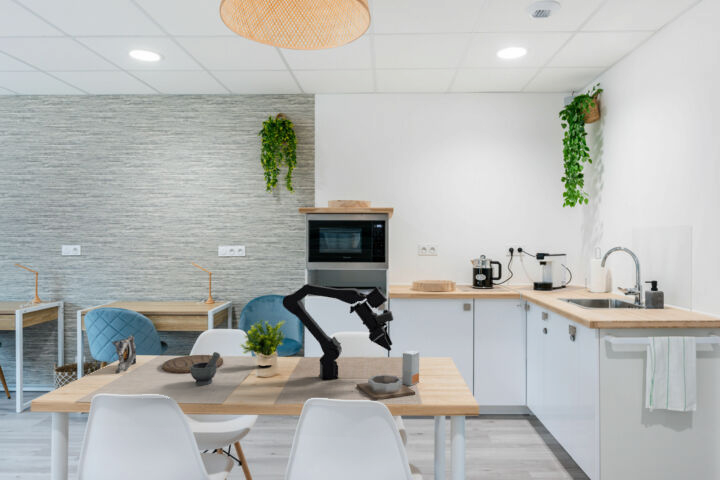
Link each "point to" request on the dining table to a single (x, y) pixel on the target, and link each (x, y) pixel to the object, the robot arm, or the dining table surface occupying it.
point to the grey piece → (125, 353)
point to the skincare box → (410, 368)
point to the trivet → (187, 363)
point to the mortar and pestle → (205, 371)
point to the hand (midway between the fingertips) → (391, 347)
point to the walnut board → (378, 396)
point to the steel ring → (390, 382)
